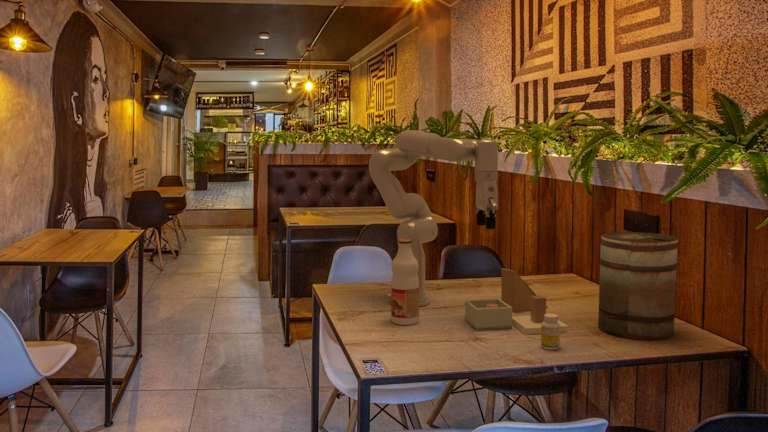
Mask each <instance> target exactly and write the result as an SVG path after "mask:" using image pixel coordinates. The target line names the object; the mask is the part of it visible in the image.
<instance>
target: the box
mask: <svg viewBox="0 0 768 432" xmlns="http://www.w3.org/2000/svg"><path fill="white" fill-rule="evenodd" d="M512 316H513V312H512V307H511V306H509V305H508V304H506V303H505V302H503V301H502V300H501V299H500V298H489V299H470V300H469V299H468V300H464V322H466V323H467V325H469V326H470V327H471V328H472V329H474V330H475V332H480V331H481V332H482V331H498V330H511V329H513V325H512Z"/></svg>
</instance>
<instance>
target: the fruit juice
mask: <svg viewBox="0 0 768 432" xmlns="http://www.w3.org/2000/svg"><path fill="white" fill-rule="evenodd" d="M411 245H412V239H397V246H398V248H397V253H396V255H395V257H394V258H393V260H392V261H391V271H392V277H391V279H390V293H391V298H390V310H391V311H390V313H391V314H390V316H391V317H390V320H391V323H393V324H395V325H398V326H411V325H416V324H418V323H419V320H420V306H419V279H418V276H417V272H418V268H419V265H418V261H417V260H416V258H415V257H414V255H413V253H412V249H411Z"/></svg>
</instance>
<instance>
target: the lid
mask: <svg viewBox="0 0 768 432" xmlns="http://www.w3.org/2000/svg"><path fill="white" fill-rule="evenodd" d="M546 306H547V298H546V297H545V296H543V295H537V296H531V311H530V315H515V316H513V315H512V326H514V327H515V329H518V330H519V331H520V332H522V334H524V335H525V336H526V335H539V334H540V335H541V326H542V322H543V321H545V320H544V315H545V314H547V308H546ZM557 322H559V324H560V334H561V333H568V332H569V331H568V330H569V326H568V325H567V324H565V323H564V322H563V321H561V320H559V319H558V321H557Z"/></svg>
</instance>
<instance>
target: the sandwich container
mask: <svg viewBox="0 0 768 432" xmlns="http://www.w3.org/2000/svg"><path fill="white" fill-rule="evenodd" d="M500 288H501V291H500V293H501V296H500V298H501V299H500V300H502V301H503V302H505V303H506V304H508V305H509V306H511V307H512V313H513V314H516V313H525V312H531V296H538V295H537V294H536V293H535V292H534V290H533V289H532V288H531V287H530V286H529V285H528V283H526V282H525V280H524V279H523V278H522V277H521V276H520V275H519V274H518V272H516V271H515V270H512V269H509V268H505V267H502V268H501V287H500ZM546 309H549V306H547V305H546Z"/></svg>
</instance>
